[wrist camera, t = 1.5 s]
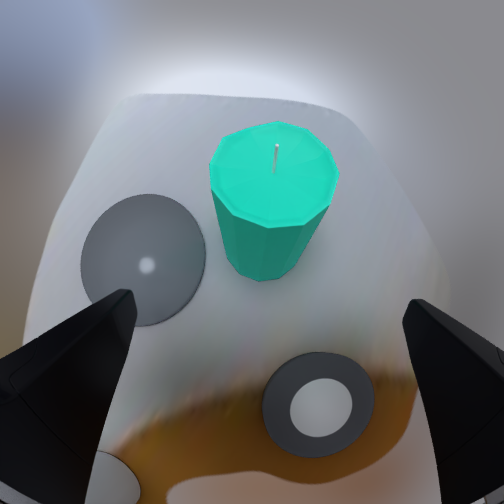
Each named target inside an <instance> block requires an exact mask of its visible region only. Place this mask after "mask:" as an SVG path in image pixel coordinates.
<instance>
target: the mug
mask: <svg viewBox="0 0 504 504" xmlns="http://www.w3.org/2000/svg"><path fill="white" fill-rule="evenodd" d="M139 497H140V485H139V482H138V480H137V478H136V477H135V475H134V474H133V472H132V471H131V470H130V469H129V468H128V467H127V466H126V465H125V464H124V463H123V462H122V461H120V460H119V459H117V458H116V457H114V456H112V455H110V454H107V453H104V452H100V451H97V452H96V456H95V460H94V464H93V467H92V472H91V477H90V481H89V485H88V490H87V494H86V499H85V504H136V502H137V501H138V499H139Z"/></svg>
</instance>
